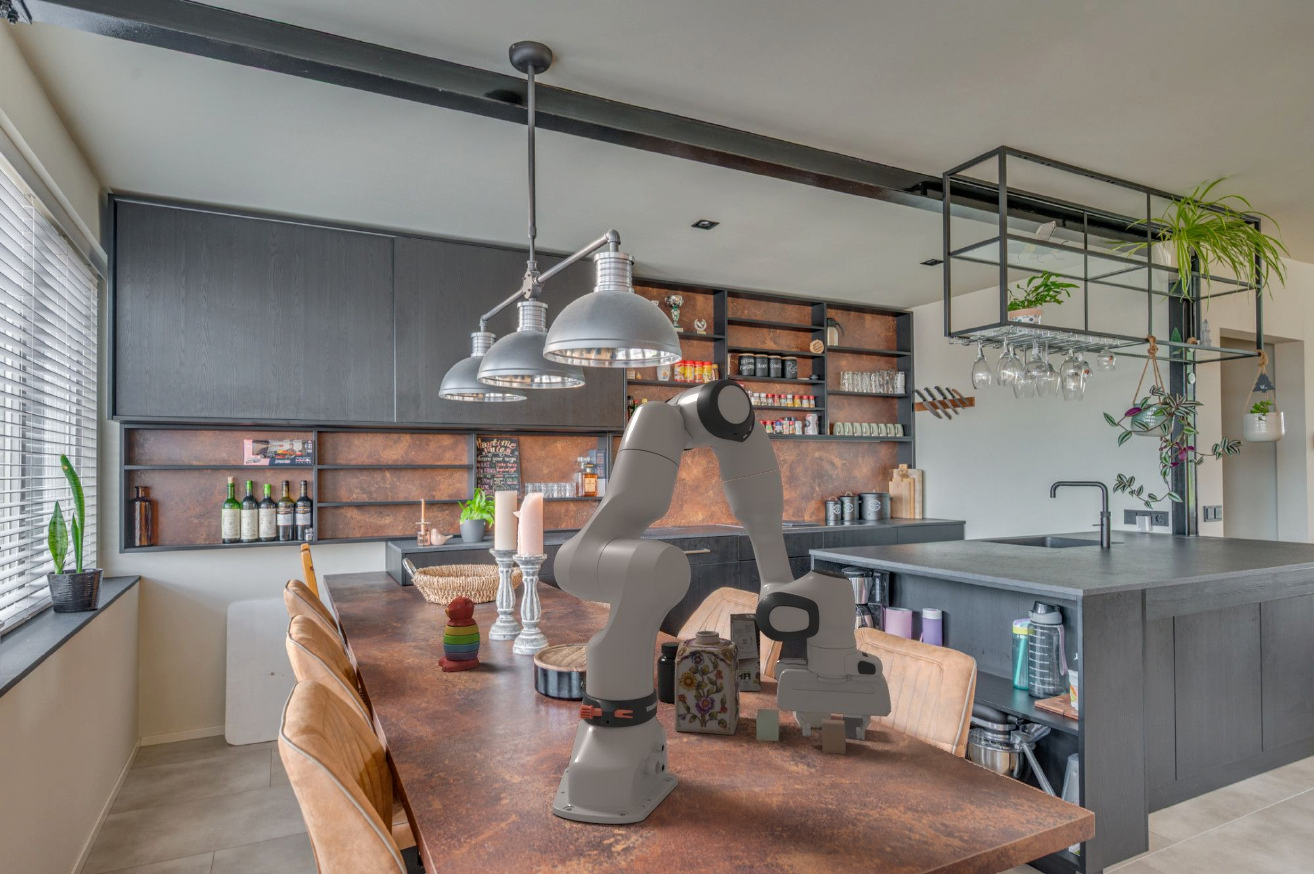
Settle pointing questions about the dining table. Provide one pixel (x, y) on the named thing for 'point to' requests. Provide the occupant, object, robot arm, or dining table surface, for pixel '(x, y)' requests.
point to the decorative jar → (707, 685)
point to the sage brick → (767, 724)
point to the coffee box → (747, 649)
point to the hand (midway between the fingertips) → (833, 737)
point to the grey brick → (852, 725)
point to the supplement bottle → (667, 672)
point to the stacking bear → (460, 637)
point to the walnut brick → (833, 736)
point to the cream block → (813, 718)
